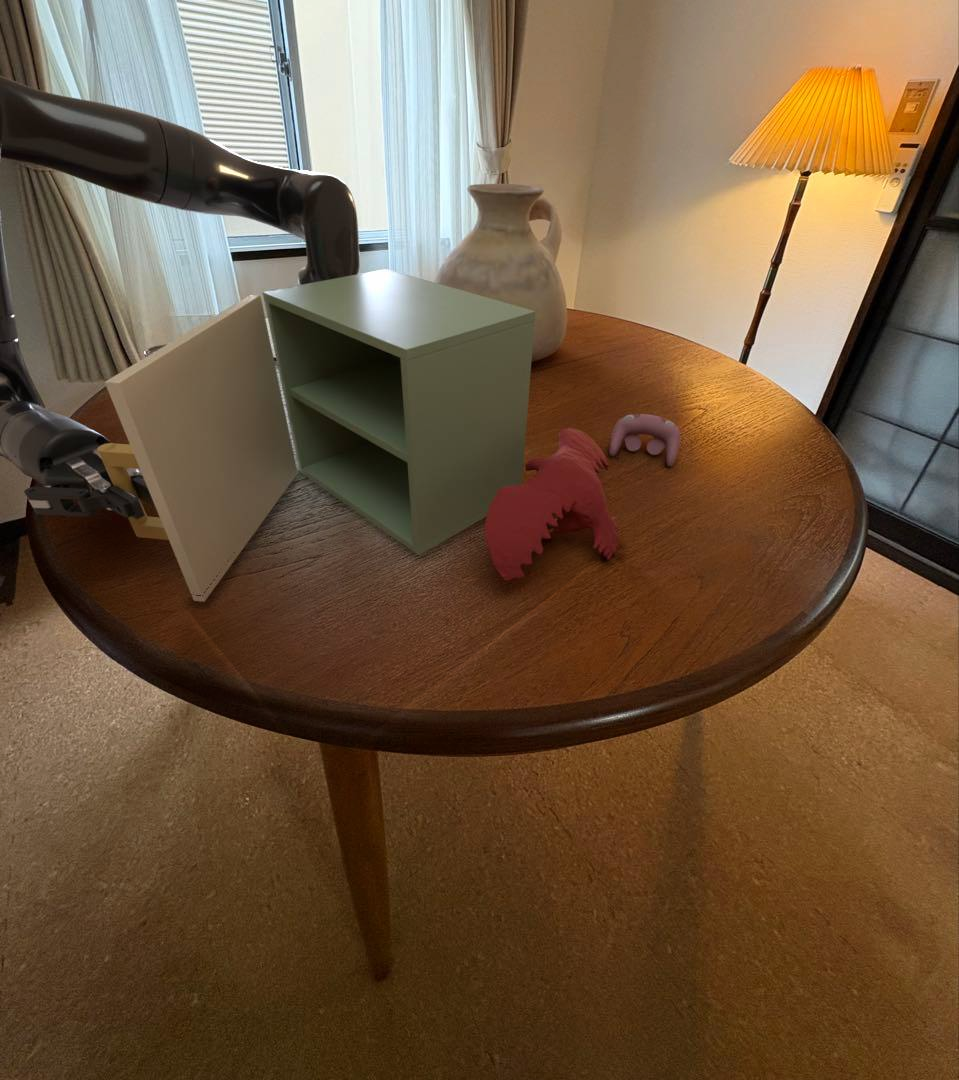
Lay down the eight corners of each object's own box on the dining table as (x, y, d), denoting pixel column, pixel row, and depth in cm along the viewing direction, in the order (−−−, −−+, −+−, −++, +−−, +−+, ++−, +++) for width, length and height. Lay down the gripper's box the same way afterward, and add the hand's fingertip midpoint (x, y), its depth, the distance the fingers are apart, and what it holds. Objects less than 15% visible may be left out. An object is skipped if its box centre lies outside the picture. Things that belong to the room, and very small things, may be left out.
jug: (398, 359, 115) (387, 187, 96) (484, 318, 138) (488, 173, 119) (522, 391, 103) (535, 202, 85) (593, 341, 126) (616, 184, 108)
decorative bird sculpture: (612, 514, 80) (554, 426, 77) (669, 491, 73) (609, 394, 71) (522, 643, 60) (441, 531, 58) (589, 626, 54) (502, 500, 51)
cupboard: (418, 556, 65) (406, 349, 50) (299, 471, 79) (262, 292, 64) (521, 496, 75) (535, 311, 61) (399, 431, 89) (386, 268, 75)
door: (136, 595, 59) (29, 376, 44) (246, 469, 79) (198, 291, 65) (204, 602, 58) (118, 382, 44) (297, 473, 79) (260, 295, 64)
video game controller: (673, 466, 85) (684, 420, 84) (674, 467, 81) (686, 419, 79) (608, 455, 88) (617, 410, 86) (606, 455, 83) (616, 408, 82)
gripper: (-34, 445, 54) (54, 504, 46) (108, 398, 63) (202, 441, 55) (5, 509, 58) (92, 572, 51) (133, 457, 68) (222, 504, 60)
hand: (149, 503), depth 53 cm, fingers closed
